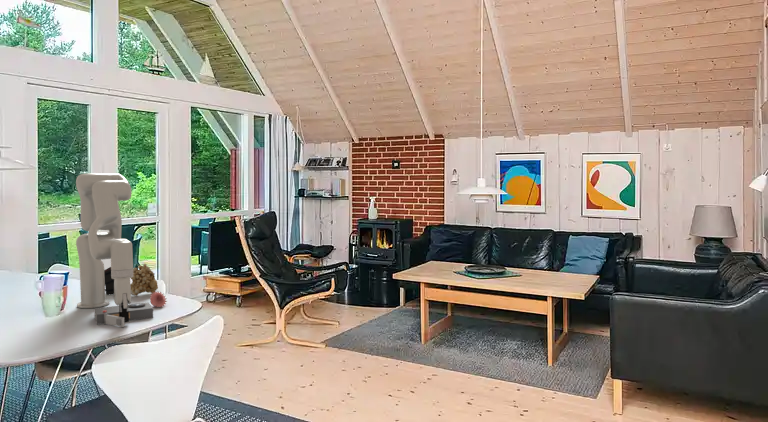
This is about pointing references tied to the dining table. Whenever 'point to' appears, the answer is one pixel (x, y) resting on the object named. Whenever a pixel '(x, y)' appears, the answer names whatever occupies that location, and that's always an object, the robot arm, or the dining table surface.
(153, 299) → the flower
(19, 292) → the dining table surface
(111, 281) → the black ridged block
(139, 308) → the camera body
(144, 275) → the mineral formation
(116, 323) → the port door
